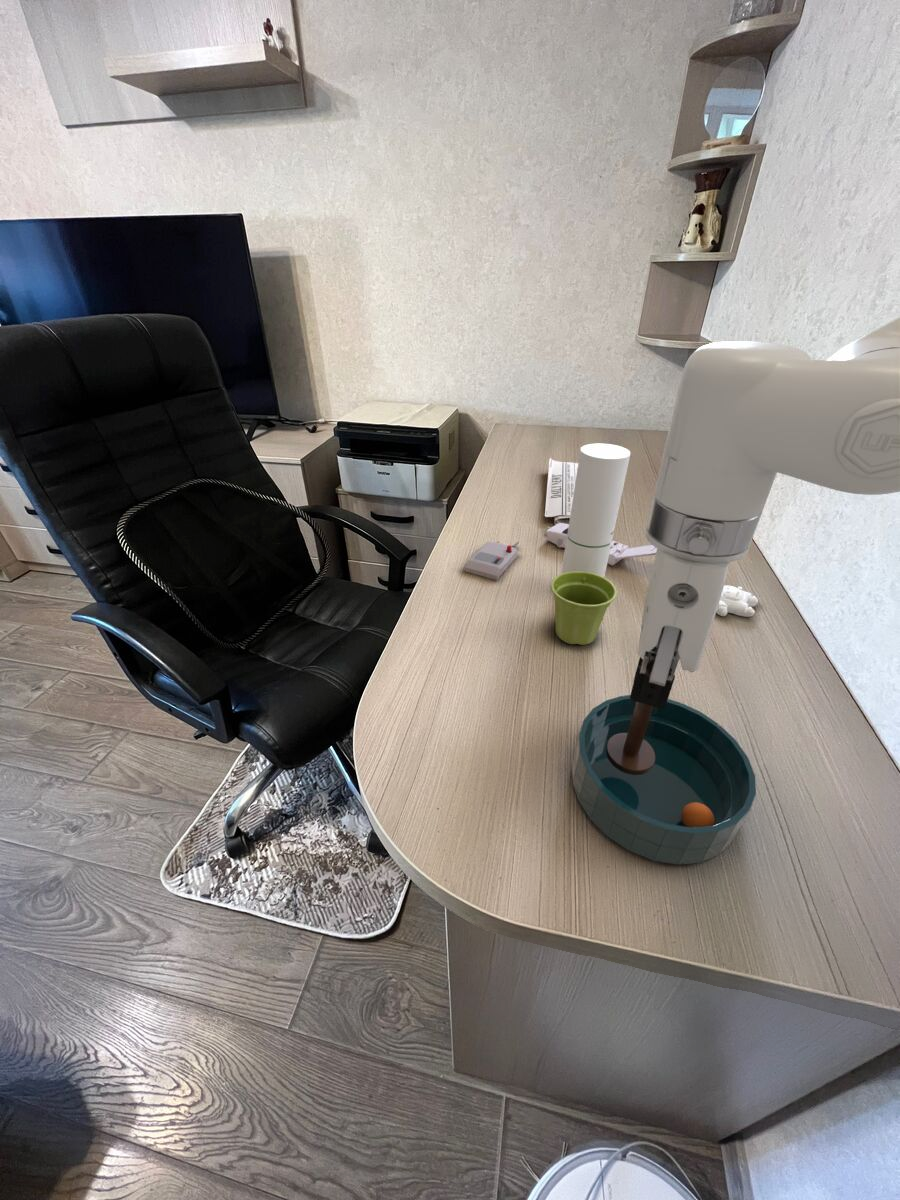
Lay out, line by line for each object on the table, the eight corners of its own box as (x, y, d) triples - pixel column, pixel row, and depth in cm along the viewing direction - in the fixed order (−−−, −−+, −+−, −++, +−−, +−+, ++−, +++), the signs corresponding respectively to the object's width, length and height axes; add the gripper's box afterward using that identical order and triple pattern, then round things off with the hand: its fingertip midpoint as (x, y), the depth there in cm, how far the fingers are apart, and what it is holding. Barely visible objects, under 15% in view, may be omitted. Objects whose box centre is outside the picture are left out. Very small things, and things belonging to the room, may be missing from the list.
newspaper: (602, 530, 108) (605, 515, 106) (543, 526, 109) (545, 511, 107) (588, 472, 136) (590, 459, 134) (542, 469, 138) (543, 457, 136)
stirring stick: (657, 747, 55) (693, 643, 47) (649, 782, 51) (687, 676, 43) (611, 731, 57) (638, 628, 49) (600, 763, 53) (627, 658, 45)
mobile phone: (659, 553, 87) (538, 512, 100) (651, 582, 90) (534, 539, 104) (672, 542, 91) (553, 504, 104) (664, 570, 94) (549, 529, 108)
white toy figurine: (747, 626, 80) (754, 611, 78) (672, 599, 86) (676, 585, 84) (759, 602, 86) (766, 587, 84) (687, 578, 92) (692, 564, 90)
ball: (715, 837, 50) (713, 838, 48) (682, 830, 52) (679, 831, 49) (715, 806, 51) (714, 805, 49) (683, 799, 53) (680, 799, 50)
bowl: (735, 758, 59) (752, 723, 56) (736, 898, 46) (759, 864, 43) (588, 711, 65) (596, 677, 61) (554, 824, 52) (561, 789, 49)
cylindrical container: (605, 588, 89) (636, 448, 75) (592, 608, 84) (622, 462, 70) (567, 577, 92) (589, 440, 78) (552, 595, 87) (573, 453, 73)
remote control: (459, 575, 92) (460, 561, 90) (494, 540, 103) (495, 527, 102) (493, 585, 90) (493, 570, 88) (524, 548, 101) (525, 534, 99)
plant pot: (532, 631, 79) (537, 585, 74) (570, 608, 84) (578, 564, 79) (580, 662, 73) (589, 614, 68) (618, 635, 78) (629, 589, 73)
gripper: (759, 583, 31) (683, 769, 42) (751, 494, 43) (693, 656, 53) (634, 559, 34) (593, 740, 44) (659, 481, 46) (621, 638, 56)
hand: (648, 693), depth 49 cm, fingers closed on stirring stick
